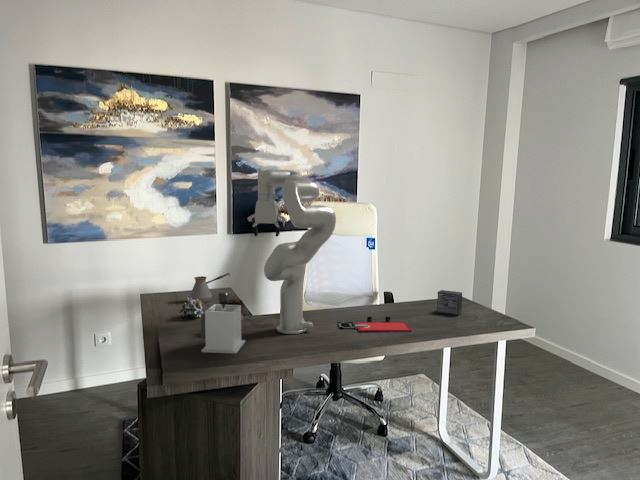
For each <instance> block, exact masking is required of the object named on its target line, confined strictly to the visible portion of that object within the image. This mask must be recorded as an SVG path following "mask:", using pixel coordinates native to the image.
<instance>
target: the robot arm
mask: <svg viewBox="0 0 640 480" xmlns="http://www.w3.org/2000/svg"><path fill="white" fill-rule="evenodd" d="M276 188H281V196H282V201H283V203H284V206H285V209H286V211H287V215H288V217H289V220H290V222H291V224H292V225H293V226H294V227H295V228H297V229H308V230H307V231H305V232H304V233H303V234H302V235H301V237H300V238H299V239H298V240H297V241H291V242H282V243H279V244H278V245H277V246H275V248H274V249H273V250H272V252H271V253H270V255H269V256H268V258H267V260H266V261H265V263H264V267H263V273H264V276H265V277H264V278H266V279H267V280H269V281H271V282H277V281H278V282H279V281H282V284H281V286H280V292H279V293H280V294H279V295H280V296H279V297H280V298H279V299H280V300H279V307H280V308H279V309H280V311H279V314H280V315H279V317H280V319H279V321H280V323H279V325H278V326H276V332H278V333H281V334H283V335H297V334H298V335H299V334H301V333H304V332H306V331H307V328H313V327H314V322H311V321H305V318H304V317H303V315H304V311H303V309H304V302H303V301H304V299H303V298H304V296H303V295H304V279H305V273H306V264H309V263H310V262H311V260H313V258H314V257H315V255H316V254H317V253H318V252H319V250H320V249H321V247H322V246H324V244H325V243H326V242H327V241H328V240H329V239H330V238H331V237H332V235H333V233H334V231H335V228H336V224H337V223H336V221H337V217H336V213H335V211H334V209H333V208H331V207H330V206H327V205H323V204H322V205H321V204H319V205H318V204H317V205H315V204H313V205H311V204H310V205H302V203H312V202H314V201H316V199H317V198H318V196H320V190H319V186H318V185H317V184H316V183H315V182H313V181H311V180H308V179H306V178H303V177H301V175H300V173H298V172H296V171H293V170H289V169H276V168H275V169H273V168H272V169H271V168H270V169H262V170H259V171H258V172H257V200H256V202H255V209H254V213H253V214H251V215H250V216H248V217H247V221H248V222H249V224H250V226H252V228H253V232H252V233H253V235H254V237H257V236H258V235H259V232H258V225H259V224H274V226H275V237H276V238H277V237H279V235H280V234H281V233H280V230H281V228H280V227H281V226H283V224H284V223H285V221H286V217H285V216H284V215H281V214H279V209H278V207H279V206H278V201H276V200H277V199H279V195H276ZM252 219H254V221H253V220H252ZM279 219H280V222H279Z"/></svg>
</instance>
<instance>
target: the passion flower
mask: <svg viewBox="0 0 640 480" xmlns="http://www.w3.org/2000/svg"><path fill="white" fill-rule="evenodd" d="M186 299H187V302H184V303H181V305H180V306H181V307H182V309H181V310H179V314H181V313H182V312H183V313H182V318H184V317H185V315H186V314H187V313H189V312H192V315H193V316H194V317H195V318H197V319H198V318H199V319H201V314H202V313H204V308H203V306H204V303H202V302H201V299H197V300H196V301H195V299H192V298H190V297H188V296H186Z"/></svg>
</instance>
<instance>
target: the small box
mask: <svg viewBox="0 0 640 480" xmlns="http://www.w3.org/2000/svg"><path fill="white" fill-rule="evenodd" d="M462 303H463V292H461V291H454V290H453V291H452V290H443V289H440V290H439V291H437V308H436V313H437V314H444V315H452V316H459V315H460V314H462V307H463V306H462V305H463V304H462Z"/></svg>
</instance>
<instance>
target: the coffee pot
mask: <svg viewBox="0 0 640 480" xmlns="http://www.w3.org/2000/svg"><path fill="white" fill-rule="evenodd" d="M227 276H229V277H231V274H230V272H228V273H225V274H222V275H219V276H217V277H216V278H213V279H211V280H209V281H206V279H207V278H208V277H207V276H201V275H200V276H195V277H193V278H194V280H195V282H194V284H193V287H192V289H191V292H190V295H189V299H190V298H192V299H195V301H196V300H197V299H201V302H202V303H203V304H205V302H206V303H209V301H210V300H211V299H212V297H213V295H212V292H211V290H210V288H209V285H208V284H210V283H212V282H214V281H217V280H220V279H223V278H224V277H227Z"/></svg>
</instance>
